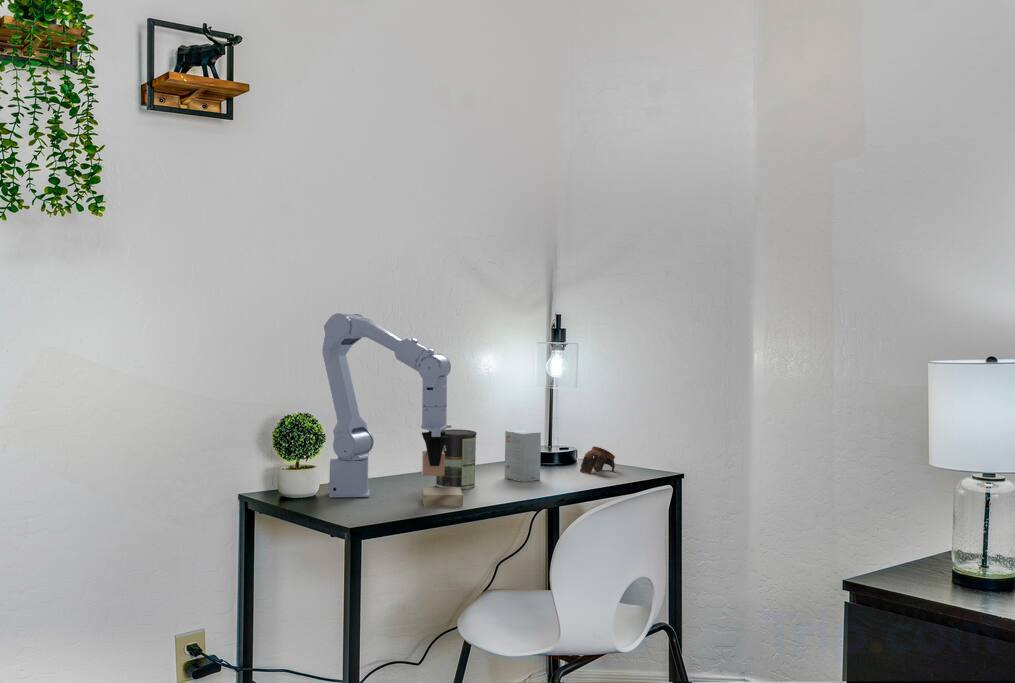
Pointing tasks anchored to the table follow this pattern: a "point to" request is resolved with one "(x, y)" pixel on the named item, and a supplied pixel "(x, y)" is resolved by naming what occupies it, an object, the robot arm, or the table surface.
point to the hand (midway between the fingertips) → (434, 463)
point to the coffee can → (458, 459)
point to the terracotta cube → (432, 470)
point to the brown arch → (597, 460)
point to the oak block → (442, 496)
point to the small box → (522, 455)
